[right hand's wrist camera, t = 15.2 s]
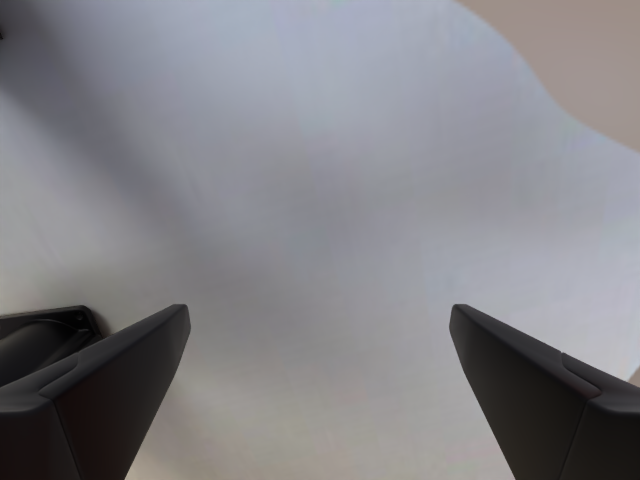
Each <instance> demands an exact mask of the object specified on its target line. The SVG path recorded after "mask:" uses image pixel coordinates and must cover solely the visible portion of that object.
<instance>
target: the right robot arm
mask: <svg viewBox="0 0 640 480" xmlns="http://www.w3.org/2000/svg"><path fill="white" fill-rule="evenodd" d="M79 312H80V313H82V315H81V314H80V313H79ZM190 330H191V324H190V318H189V311H188V307H187V305H185V304H173V305H171V306H169V307H167V308H165V309H163V310H161V311H159V312H157V313H155V314H153V315H151V316H149V317H147V318H145V319H143V320H141V321H139V322H137V323H135V324H133V325H131V326H129V327H127V328H125V329H123V330H121V331H119V332H117V333H115V334H113V335H111V336H109V337H107V338H105V339H103V337H102V335H101V333H100V331H99V329H98V326H97V324H96V322H95V320H94V317H93V315H92V313H91V311H90V309H89V308H87V307H86V306H83V305H79V306H72V307H65V308H57V309H50V310H43V311H35V312H28V313H21V314H14V315H6V316H0V480H124V479H125V477H126V475H127V473H128V471H129V469H130V467H131V465H132V463H133V461H134V459H135V456H136V454H137V452H138V450H139V448H140V446H141V444H142V442H143V440H144V438H145V436H146V434H147V432H148V429H149V427H150V425H151V423H152V421H153V419H154V417H155V415H156V413H157V411H158V409H159V407H160V405H161V402H162V400H163V398H164V396H165V394H166V392H167V390H168V388H169V386H170V384H171V382H172V380H173V377H174V375H175V373H176V371H177V368H178V366H179V363H180V360H181V357H182V354H183V351H184V348H185V345H186V342H187V340H188V337H189V334H190ZM449 330H450V334H451V337H452V340H453V342H454V345H455V348H456V351H457V354H458V357H459V360H460V363H461V366H462V368H463V371H464V373H465V375H466V377H467V380H468V382H469V384H470V386H471V388H472V390H473V392H474V394H475V396H476V398H477V400H478V402H479V405H480V407H481V409H482V411H483V413H484V415H485V417H486V419H487V421H488V423H489V425H490V427H491V429H492V432H493V434H494V436H495V438H496V440H497V442H498V444H499V446H500V448H501V450H502V452H503V454H504V456H505V459H506V461H507V463H508V465H509V467H510V469H511V471H512V473H513V475H514V477H515V479H516V480H640V388H639V387H637V386H635V385H632V384H630V383H628V382H626V381H623V380H621V379H619V378H616V377H614V376H612V375H610V374H608V373H605V372H603V371H601V370H599V369H596V368H594V367H592V366H590V365H588V364H586V363H584V362H582V361H580V360H578V359H575V358H573V357H571V356H569V355H567V354H565V353H561V351H559V350H557V349H555V348H553V347H551V346H549V345H547V344H545V343H543V342H541V341H539V340H537V339H535V338H533V337H531V336H529V335H527V334H525V333H523V332H521V331H519V330H517V329H515V328H513V327H511V326H509V325H507V324H505V323H503V322H501V321H499V320H497V319H495V318H493V317H491V316H489V315H487V314H485V313H483V312H481V311H479V310H477V309H475V308H473V307H471V306H469V305H467V304H455V305H453V307H452V311H451V318H450V324H449Z"/></svg>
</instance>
